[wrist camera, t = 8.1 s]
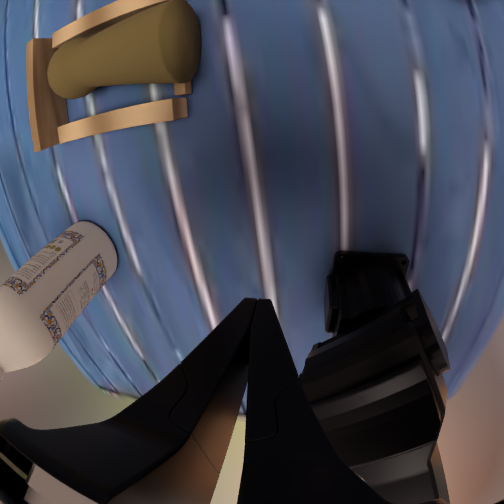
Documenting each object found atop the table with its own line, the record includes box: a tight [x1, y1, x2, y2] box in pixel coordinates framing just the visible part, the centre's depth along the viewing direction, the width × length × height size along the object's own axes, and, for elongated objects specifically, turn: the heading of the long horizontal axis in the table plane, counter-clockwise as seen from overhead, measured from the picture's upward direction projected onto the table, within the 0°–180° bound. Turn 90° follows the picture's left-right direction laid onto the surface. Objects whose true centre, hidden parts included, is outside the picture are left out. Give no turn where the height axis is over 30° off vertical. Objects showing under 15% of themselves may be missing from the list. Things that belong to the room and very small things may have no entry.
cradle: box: [26, 0, 192, 152], centre depth 15 cm, size 14×10×4 cm
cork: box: [47, 0, 201, 99], centre depth 14 cm, size 6×6×11 cm
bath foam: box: [0, 221, 117, 380], centre depth 18 cm, size 7×7×20 cm
